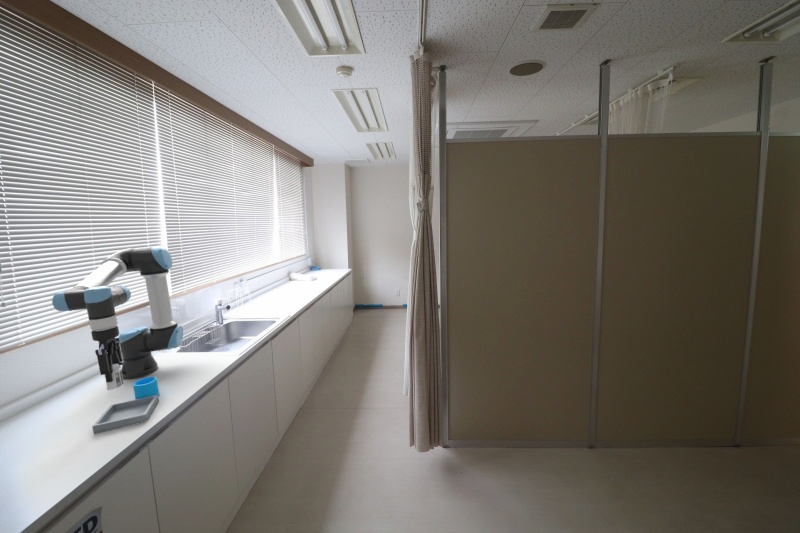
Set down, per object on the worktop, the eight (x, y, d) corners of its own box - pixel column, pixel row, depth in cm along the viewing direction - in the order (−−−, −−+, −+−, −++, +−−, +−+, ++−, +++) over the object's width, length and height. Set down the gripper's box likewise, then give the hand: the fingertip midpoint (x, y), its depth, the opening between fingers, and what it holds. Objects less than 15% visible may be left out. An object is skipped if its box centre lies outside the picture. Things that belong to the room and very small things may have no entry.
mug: (153, 402, 138) (150, 384, 137) (131, 405, 136) (128, 387, 135) (167, 388, 150) (164, 371, 148) (147, 391, 148) (144, 374, 147)
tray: (112, 411, 132) (111, 404, 132) (159, 401, 138) (158, 394, 138) (93, 433, 118) (92, 426, 117) (147, 421, 124) (145, 414, 123)
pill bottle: (114, 383, 127) (110, 363, 125) (126, 382, 127) (123, 362, 126) (104, 389, 122) (100, 369, 121) (117, 389, 122) (113, 368, 121)
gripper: (103, 322, 128) (113, 377, 131) (78, 337, 111) (91, 399, 115) (126, 319, 130) (136, 373, 134) (106, 333, 114) (117, 394, 118)
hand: (115, 385), depth 124 cm, fingers closed on pill bottle, 5 cm apart
